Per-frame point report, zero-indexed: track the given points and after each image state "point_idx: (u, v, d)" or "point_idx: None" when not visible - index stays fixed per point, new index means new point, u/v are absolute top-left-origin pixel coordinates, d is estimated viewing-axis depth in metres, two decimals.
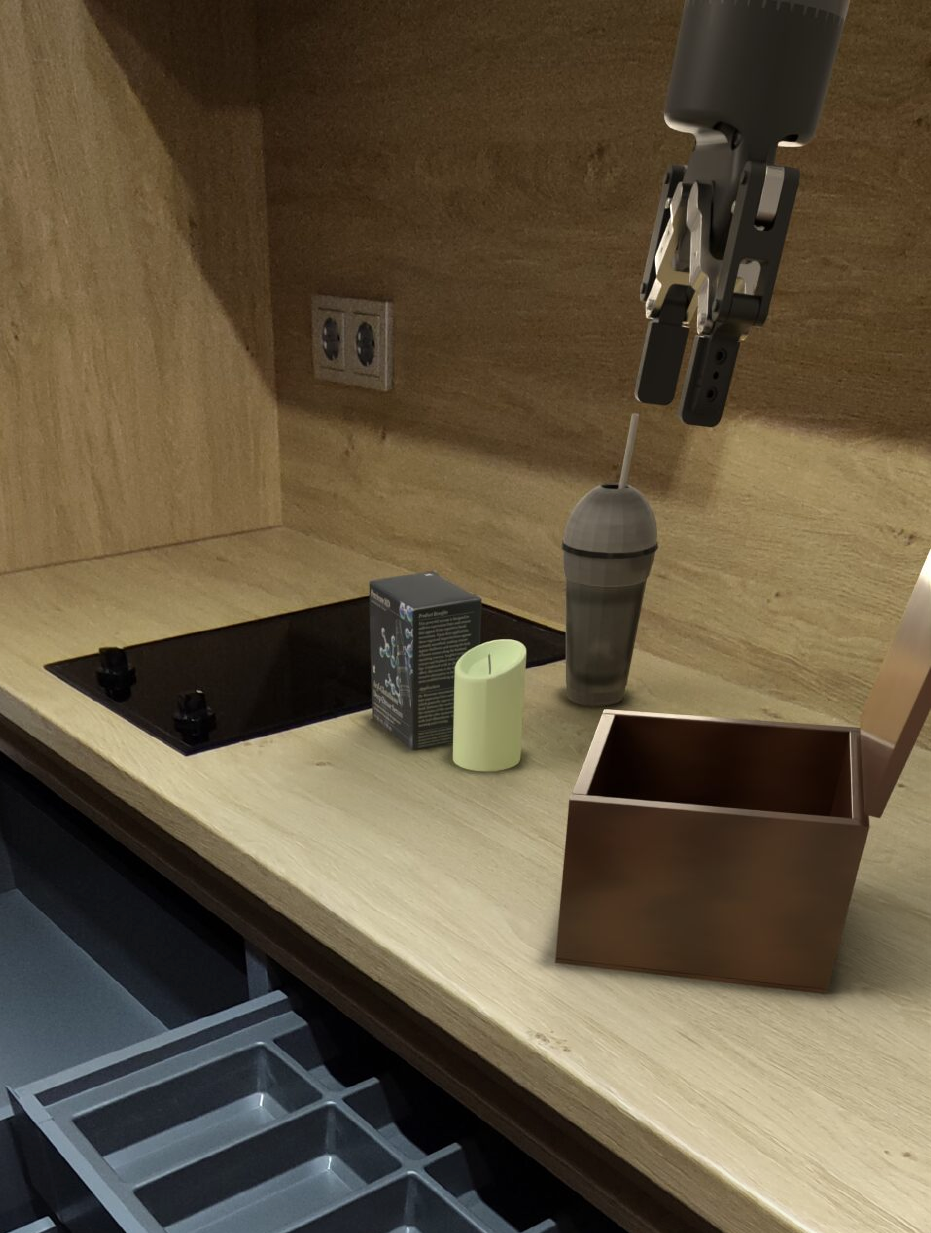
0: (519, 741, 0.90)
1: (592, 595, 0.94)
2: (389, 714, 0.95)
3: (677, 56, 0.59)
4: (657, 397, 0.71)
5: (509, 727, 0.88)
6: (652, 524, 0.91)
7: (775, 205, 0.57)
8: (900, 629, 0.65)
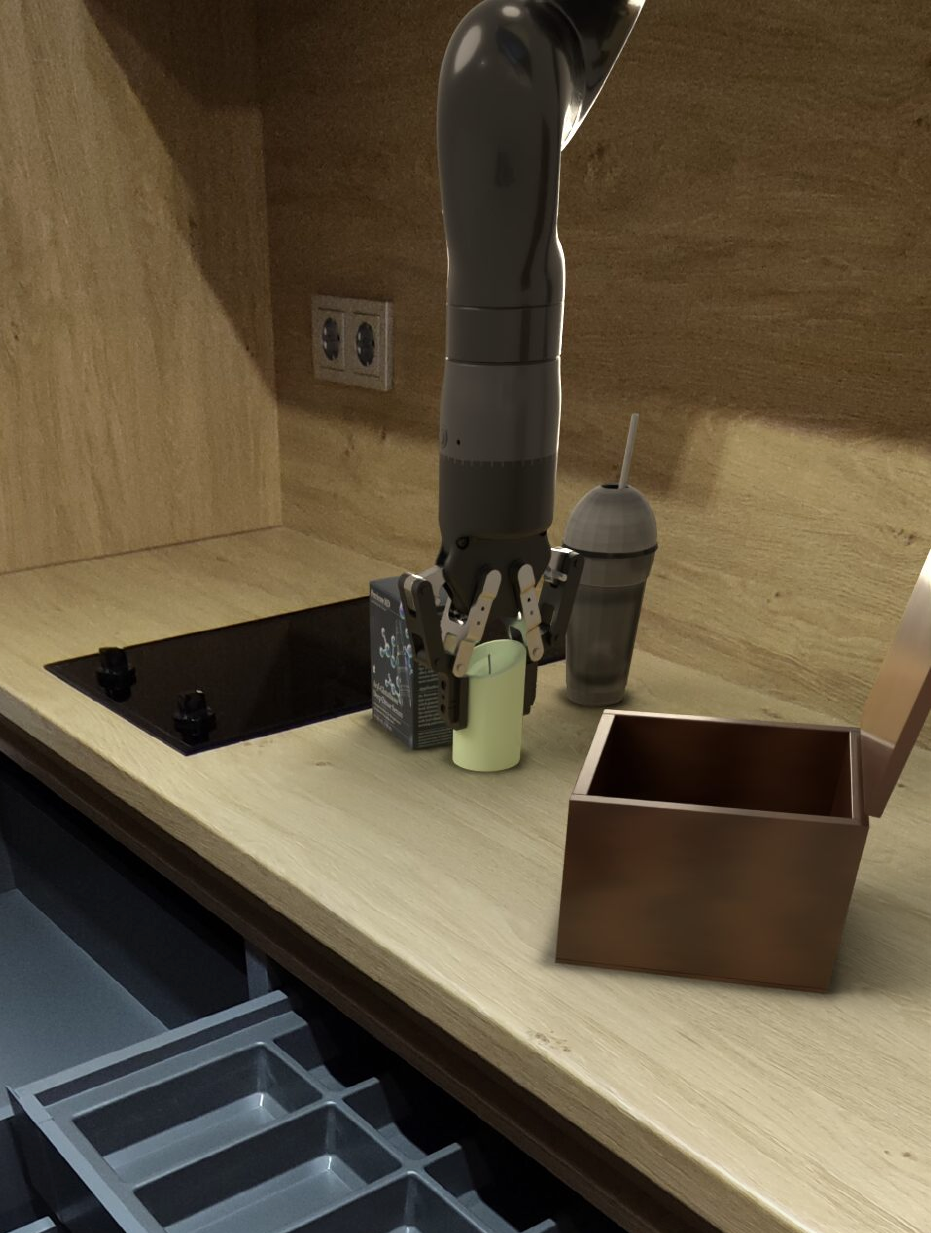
0: (519, 741, 0.90)
1: (592, 595, 0.94)
2: (389, 714, 0.95)
3: None
4: None
5: (509, 727, 0.88)
6: (652, 524, 0.91)
7: (413, 604, 0.81)
8: (900, 629, 0.65)
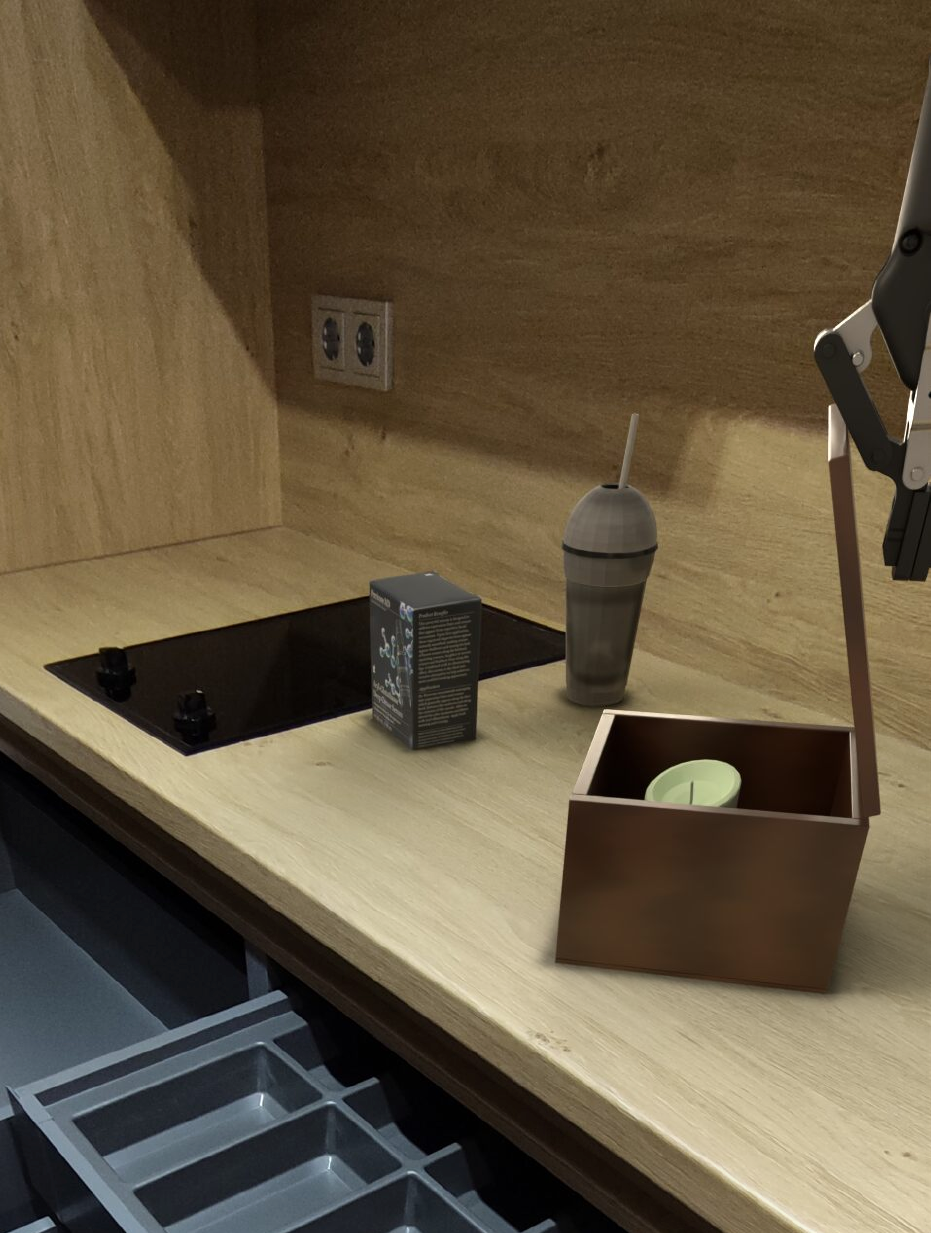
0: None
1: (592, 595, 0.94)
2: (389, 714, 0.95)
3: None
4: None
5: None
6: (652, 524, 0.91)
7: None
8: None
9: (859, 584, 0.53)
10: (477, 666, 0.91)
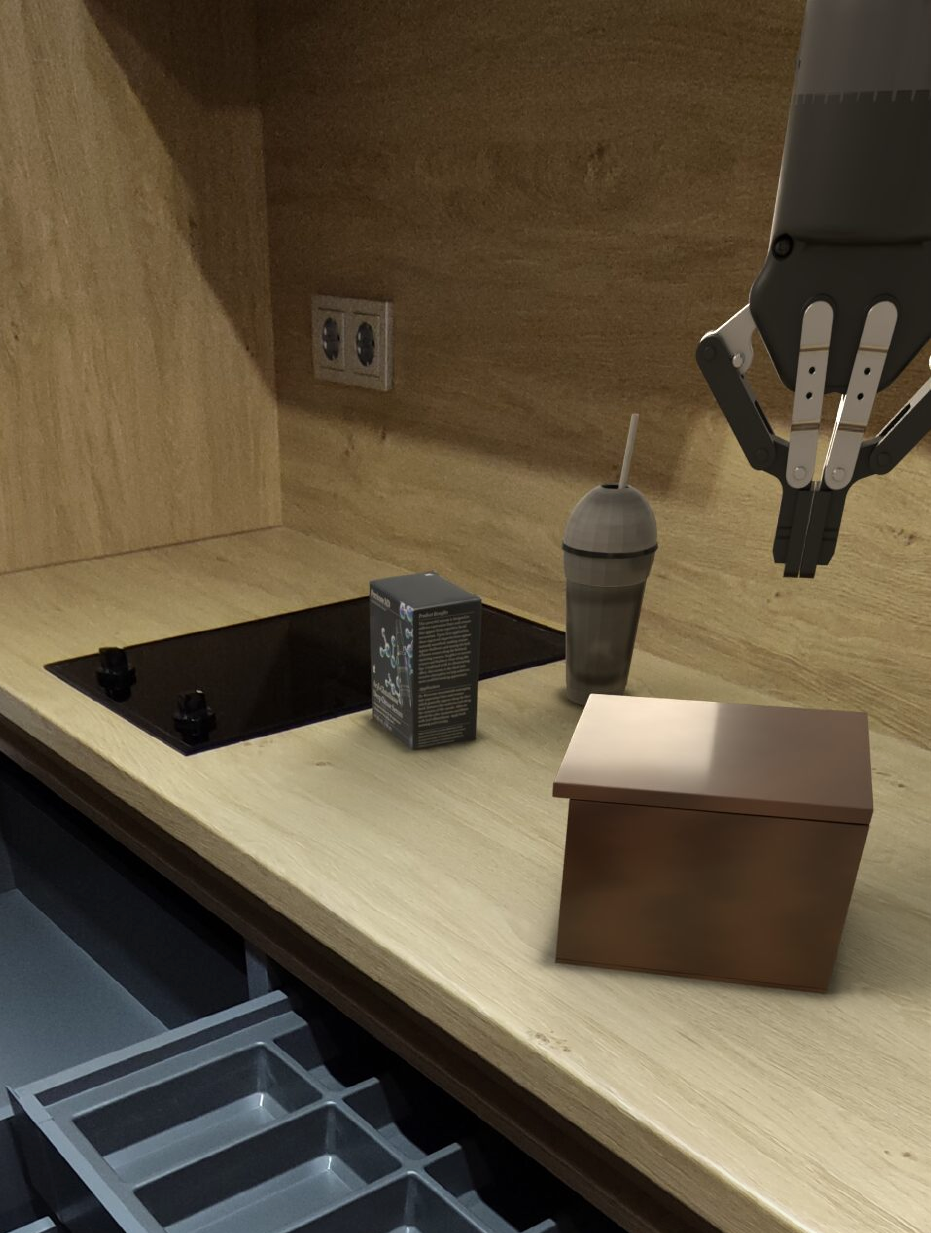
0: None
1: (592, 595, 0.94)
2: (389, 714, 0.95)
3: None
4: (800, 567, 0.59)
5: None
6: (652, 524, 0.91)
7: None
8: None
9: (653, 791, 0.61)
10: (477, 666, 0.91)
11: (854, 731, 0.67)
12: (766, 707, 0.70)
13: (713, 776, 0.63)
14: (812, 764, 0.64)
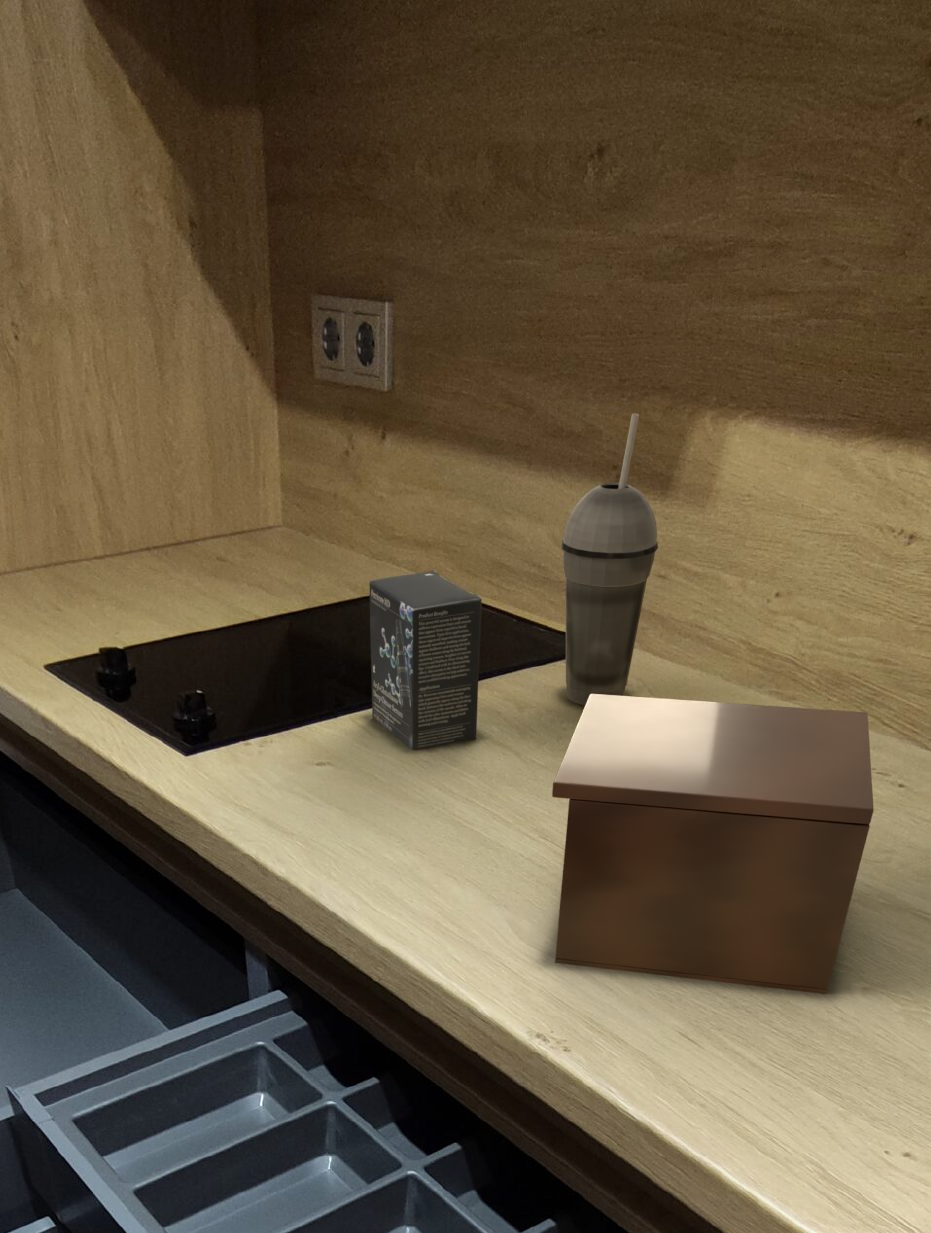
0: None
1: (592, 595, 0.94)
2: (389, 714, 0.95)
3: None
4: None
5: None
6: (652, 524, 0.91)
7: None
8: None
9: (653, 791, 0.61)
10: (477, 666, 0.91)
11: (854, 731, 0.67)
12: (766, 707, 0.70)
13: (713, 776, 0.63)
14: (812, 764, 0.64)
